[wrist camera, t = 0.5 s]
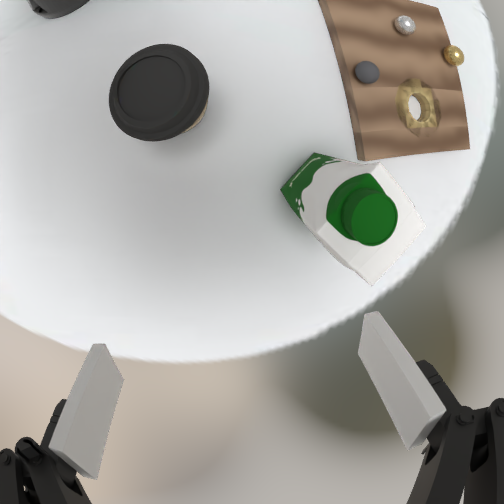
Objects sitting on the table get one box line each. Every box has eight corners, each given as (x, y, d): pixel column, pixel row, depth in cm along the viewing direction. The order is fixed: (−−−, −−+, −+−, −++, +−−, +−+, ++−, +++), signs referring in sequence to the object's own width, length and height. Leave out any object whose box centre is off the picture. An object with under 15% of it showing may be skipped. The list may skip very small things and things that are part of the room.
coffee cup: (225, 85, 31) (224, 51, 17) (200, 148, 34) (182, 155, 20) (161, 67, 29) (123, 31, 16) (137, 130, 32) (85, 128, 19)
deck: (316, -4, 26) (321, -11, 24) (429, 11, 26) (437, 7, 23) (357, 159, 36) (365, 161, 34) (460, 147, 36) (469, 149, 34)
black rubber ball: (348, 63, 29) (359, 58, 26) (369, 63, 29) (380, 58, 26) (354, 85, 30) (365, 82, 27) (374, 85, 30) (386, 81, 27)
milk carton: (313, 143, 35) (395, 153, 17) (356, 187, 38) (448, 234, 20) (270, 190, 37) (312, 244, 19) (316, 231, 40) (381, 309, 22)
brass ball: (437, 45, 27) (450, 41, 23) (451, 48, 27) (464, 45, 23) (442, 65, 28) (456, 63, 25) (456, 68, 28) (470, 66, 25)
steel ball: (388, 17, 25) (399, 11, 22) (404, 20, 25) (416, 14, 22) (394, 35, 27) (405, 30, 24) (410, 37, 27) (422, 33, 24)
